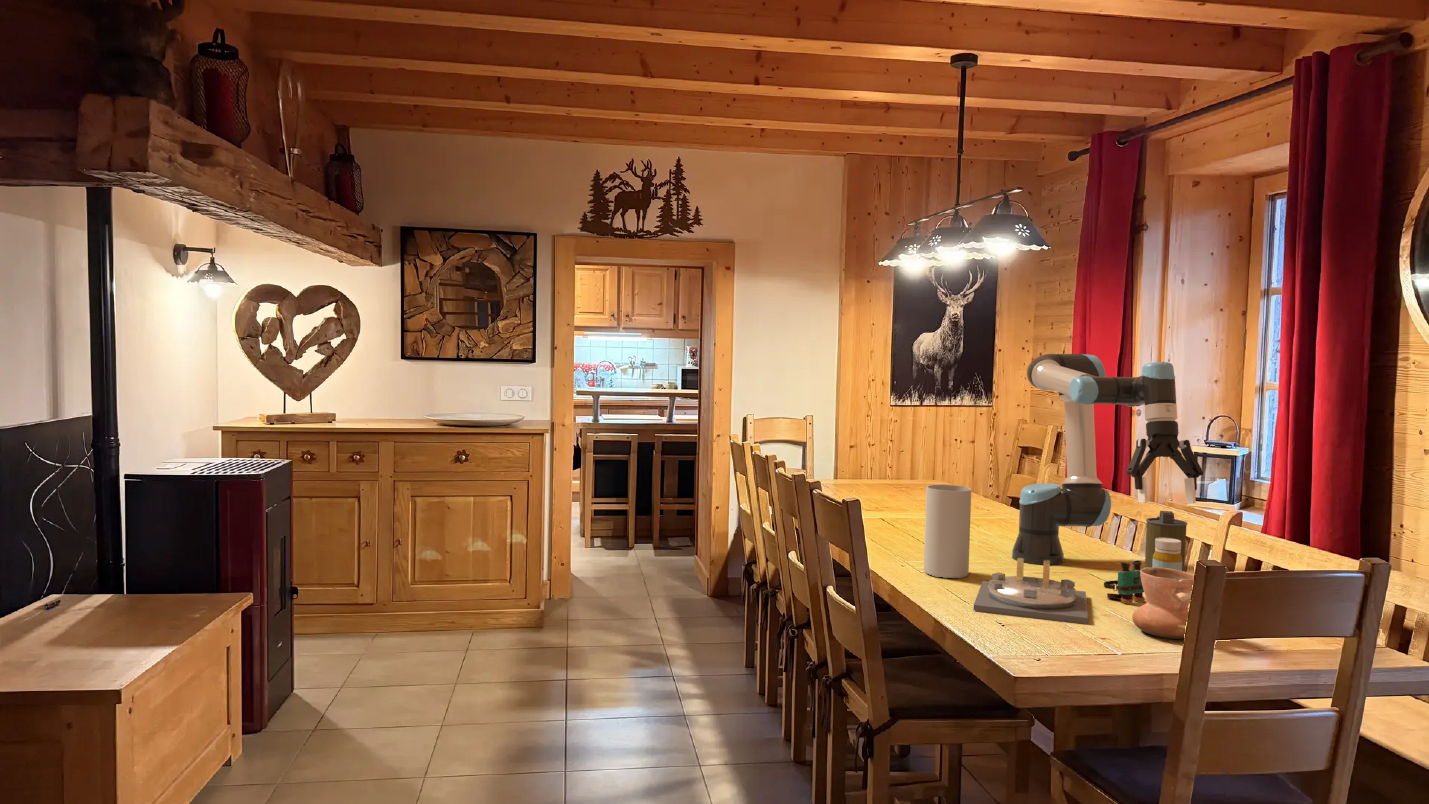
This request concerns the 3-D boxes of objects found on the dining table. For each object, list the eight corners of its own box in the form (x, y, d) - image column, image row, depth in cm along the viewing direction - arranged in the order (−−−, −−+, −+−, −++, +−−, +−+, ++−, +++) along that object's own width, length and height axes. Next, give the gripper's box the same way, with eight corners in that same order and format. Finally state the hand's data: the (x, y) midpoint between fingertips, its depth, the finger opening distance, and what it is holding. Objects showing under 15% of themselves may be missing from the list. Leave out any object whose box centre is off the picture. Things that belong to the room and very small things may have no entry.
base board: (982, 586, 246) (982, 578, 246) (1085, 597, 236) (1085, 589, 236) (973, 610, 222) (973, 602, 221) (1087, 624, 212) (1087, 615, 212)
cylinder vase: (960, 581, 250) (963, 492, 249) (917, 575, 257) (920, 488, 256) (973, 572, 261) (976, 487, 260) (931, 566, 268) (934, 483, 266)
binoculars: (1117, 556, 241) (1150, 560, 233) (1119, 596, 241) (1152, 602, 232) (1094, 559, 237) (1127, 564, 228) (1096, 600, 237) (1129, 605, 228)
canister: (1189, 587, 248) (1192, 515, 247) (1148, 585, 251) (1152, 513, 249) (1177, 578, 259) (1180, 509, 258) (1138, 575, 261) (1141, 507, 260)
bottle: (1178, 593, 242) (1180, 538, 241) (1182, 600, 235) (1185, 543, 234) (1149, 591, 244) (1152, 536, 243) (1153, 597, 237) (1155, 541, 236)
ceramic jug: (1217, 647, 197) (1220, 582, 196) (1148, 643, 198) (1151, 579, 197) (1180, 624, 215) (1183, 565, 214) (1118, 621, 216) (1121, 562, 215)
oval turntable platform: (991, 583, 242) (992, 554, 242) (1075, 592, 235) (1076, 562, 234) (985, 603, 223) (986, 571, 222) (1076, 614, 215) (1077, 581, 215)
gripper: (1126, 418, 230) (1131, 501, 226) (1214, 420, 233) (1220, 503, 230) (1109, 421, 237) (1114, 502, 234) (1194, 424, 241) (1200, 504, 238)
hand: (1167, 503), depth 232 cm, fingers open, 13 cm apart
